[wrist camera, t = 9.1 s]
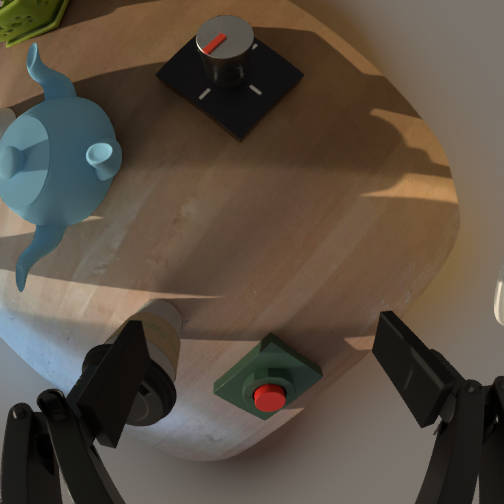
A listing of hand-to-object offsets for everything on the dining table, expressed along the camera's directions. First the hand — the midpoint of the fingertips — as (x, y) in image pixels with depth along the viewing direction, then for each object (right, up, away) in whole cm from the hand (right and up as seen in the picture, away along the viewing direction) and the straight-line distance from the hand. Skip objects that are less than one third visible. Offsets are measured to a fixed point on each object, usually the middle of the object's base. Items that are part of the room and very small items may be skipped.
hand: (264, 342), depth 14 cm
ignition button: (+2, -14, +20) cm, 24 cm away
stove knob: (-3, +23, +10) cm, 25 cm away
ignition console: (+2, -13, +23) cm, 27 cm away
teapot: (-22, +16, +14) cm, 31 cm away
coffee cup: (-13, -4, +20) cm, 24 cm away
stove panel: (-3, +24, +13) cm, 27 cm away
